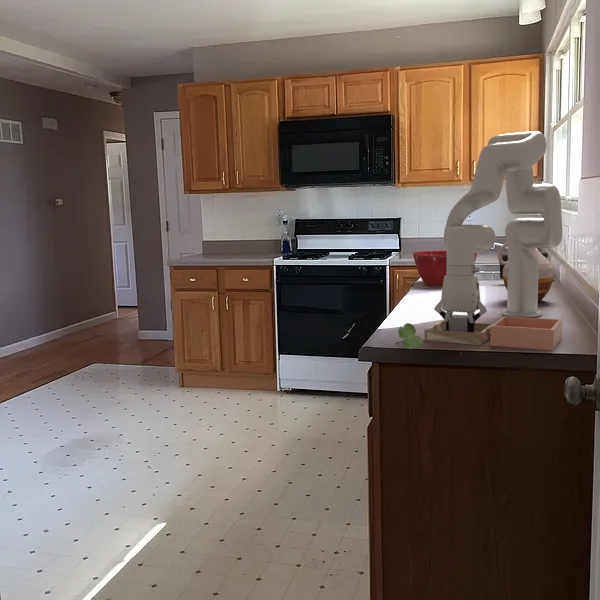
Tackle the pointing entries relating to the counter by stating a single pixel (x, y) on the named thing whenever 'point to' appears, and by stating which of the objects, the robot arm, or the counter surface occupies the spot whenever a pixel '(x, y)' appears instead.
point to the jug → (543, 272)
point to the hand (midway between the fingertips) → (460, 334)
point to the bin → (526, 333)
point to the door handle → (505, 258)
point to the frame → (458, 334)
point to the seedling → (409, 336)
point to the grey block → (458, 323)
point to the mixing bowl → (432, 266)
